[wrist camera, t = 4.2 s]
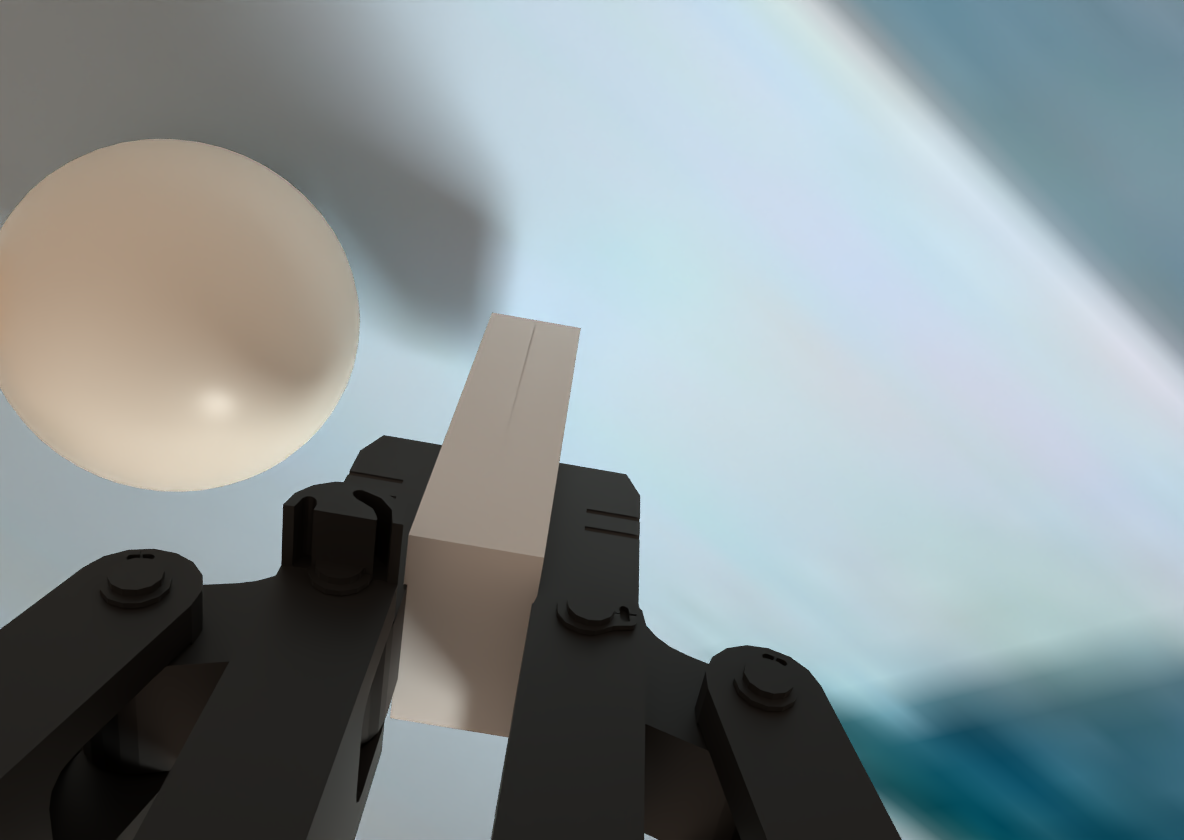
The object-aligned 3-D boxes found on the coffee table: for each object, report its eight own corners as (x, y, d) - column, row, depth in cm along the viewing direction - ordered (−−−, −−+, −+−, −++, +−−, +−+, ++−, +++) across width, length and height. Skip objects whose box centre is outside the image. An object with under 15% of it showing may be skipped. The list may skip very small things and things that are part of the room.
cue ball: (-149, 459, 13) (-16, 317, 18) (246, 612, 15) (270, 449, 20) (30, 93, 12) (122, 45, 17) (435, 319, 14) (413, 219, 19)
